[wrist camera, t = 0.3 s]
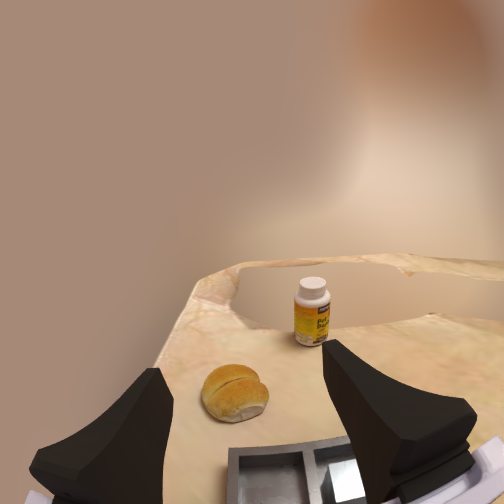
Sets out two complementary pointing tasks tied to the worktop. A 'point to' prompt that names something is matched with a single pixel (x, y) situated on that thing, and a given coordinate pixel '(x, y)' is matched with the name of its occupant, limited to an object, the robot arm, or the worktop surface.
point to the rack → (295, 474)
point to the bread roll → (234, 393)
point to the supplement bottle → (311, 311)
